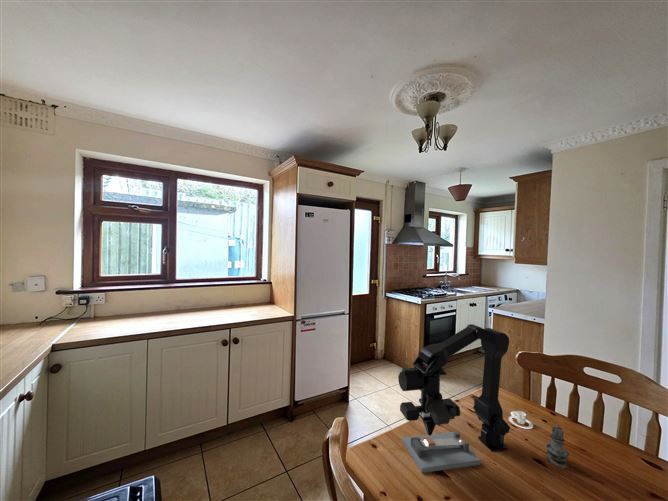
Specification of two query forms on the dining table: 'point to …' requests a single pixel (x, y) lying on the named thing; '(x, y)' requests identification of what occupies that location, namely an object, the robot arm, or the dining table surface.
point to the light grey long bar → (441, 443)
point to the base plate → (440, 454)
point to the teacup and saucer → (520, 419)
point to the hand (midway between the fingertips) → (429, 434)
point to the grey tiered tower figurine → (557, 448)
